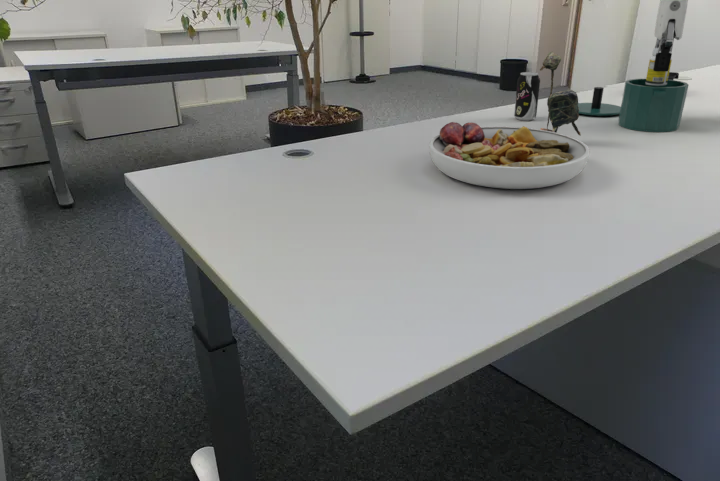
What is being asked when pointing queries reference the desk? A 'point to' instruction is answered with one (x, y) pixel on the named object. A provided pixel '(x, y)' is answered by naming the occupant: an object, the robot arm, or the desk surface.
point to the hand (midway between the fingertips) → (659, 68)
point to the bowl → (507, 156)
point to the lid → (598, 106)
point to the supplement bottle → (656, 73)
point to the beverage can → (527, 96)
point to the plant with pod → (560, 100)
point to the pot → (652, 106)
